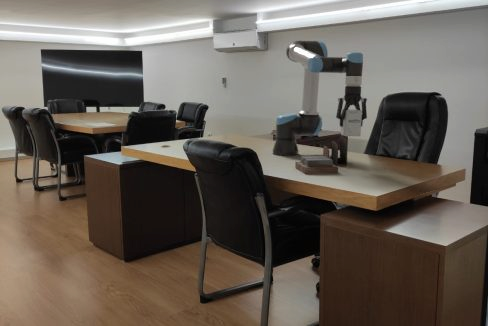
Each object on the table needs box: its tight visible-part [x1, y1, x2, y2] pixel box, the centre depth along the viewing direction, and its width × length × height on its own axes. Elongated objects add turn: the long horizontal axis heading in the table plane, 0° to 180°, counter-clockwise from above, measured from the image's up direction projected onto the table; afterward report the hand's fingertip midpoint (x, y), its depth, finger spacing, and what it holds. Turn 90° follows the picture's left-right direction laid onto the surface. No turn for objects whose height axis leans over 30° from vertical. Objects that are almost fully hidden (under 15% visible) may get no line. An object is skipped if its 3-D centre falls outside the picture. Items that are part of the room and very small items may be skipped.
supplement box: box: [340, 108, 362, 137], centre depth 231 cm, size 7×7×13 cm
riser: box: [294, 155, 339, 175], centre depth 228 cm, size 16×16×6 cm
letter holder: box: [322, 135, 348, 167], centre depth 250 cm, size 10×20×14 cm, turn 178°
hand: (350, 133), depth 232 cm, fingers closed on supplement box, 7 cm apart
